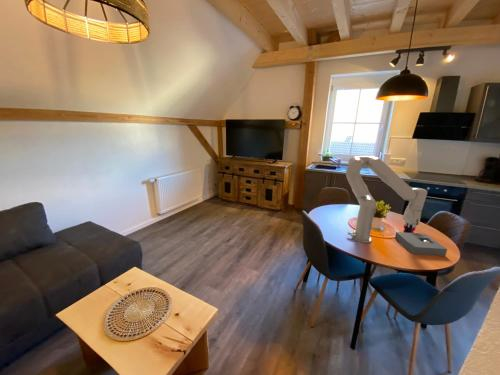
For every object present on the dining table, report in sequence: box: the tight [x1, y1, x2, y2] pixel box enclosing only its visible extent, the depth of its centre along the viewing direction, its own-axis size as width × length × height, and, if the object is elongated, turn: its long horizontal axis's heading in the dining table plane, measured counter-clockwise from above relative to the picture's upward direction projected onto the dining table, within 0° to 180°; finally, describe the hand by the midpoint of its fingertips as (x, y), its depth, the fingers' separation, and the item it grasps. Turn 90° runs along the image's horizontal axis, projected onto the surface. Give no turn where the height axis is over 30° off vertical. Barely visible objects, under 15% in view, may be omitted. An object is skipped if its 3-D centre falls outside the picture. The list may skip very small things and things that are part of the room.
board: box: [394, 231, 448, 257], centre depth 146 cm, size 20×20×5 cm
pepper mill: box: [402, 223, 416, 233], centre depth 163 cm, size 7×7×20 cm
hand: (407, 232), depth 145 cm, fingers closed
